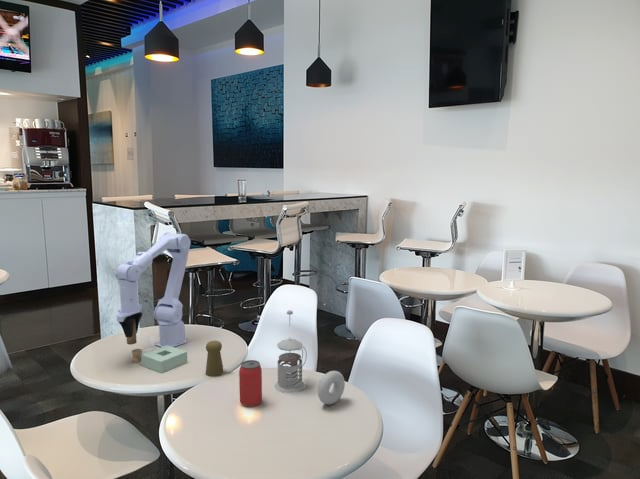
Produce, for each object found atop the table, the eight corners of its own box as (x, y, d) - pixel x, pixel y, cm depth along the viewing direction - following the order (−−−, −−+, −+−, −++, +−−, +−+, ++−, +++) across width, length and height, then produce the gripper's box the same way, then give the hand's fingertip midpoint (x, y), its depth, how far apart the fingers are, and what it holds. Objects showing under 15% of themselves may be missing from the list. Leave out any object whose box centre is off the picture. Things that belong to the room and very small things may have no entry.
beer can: (265, 398, 141) (265, 361, 139) (255, 409, 134) (255, 369, 133) (246, 395, 143) (245, 358, 141) (235, 405, 137) (234, 366, 135)
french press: (268, 386, 149) (267, 310, 145) (294, 374, 158) (294, 302, 154) (289, 396, 142) (289, 317, 139) (315, 383, 151) (315, 308, 147)
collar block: (167, 355, 173) (167, 345, 173) (187, 362, 167) (186, 351, 166) (141, 365, 164) (141, 354, 164) (161, 373, 158) (160, 361, 157)
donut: (323, 411, 133) (323, 378, 132) (315, 407, 136) (315, 374, 134) (347, 399, 140) (347, 368, 139) (338, 396, 143) (339, 364, 141)
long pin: (133, 340, 169) (131, 319, 168) (138, 342, 167) (137, 320, 166) (125, 343, 166) (123, 321, 165) (130, 345, 164) (129, 323, 163)
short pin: (138, 358, 170) (138, 348, 169) (144, 360, 168) (143, 350, 168) (130, 361, 167) (130, 350, 167) (136, 363, 166) (135, 352, 165)
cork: (221, 376, 155) (220, 345, 154) (203, 376, 156) (202, 345, 154) (225, 369, 161) (224, 338, 160) (208, 368, 162) (207, 338, 160)
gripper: (128, 292, 172) (130, 327, 174) (107, 303, 157) (109, 341, 159) (147, 292, 171) (148, 328, 173) (127, 304, 157) (129, 342, 159)
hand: (131, 335), depth 166 cm, fingers closed on long pin, 3 cm apart
